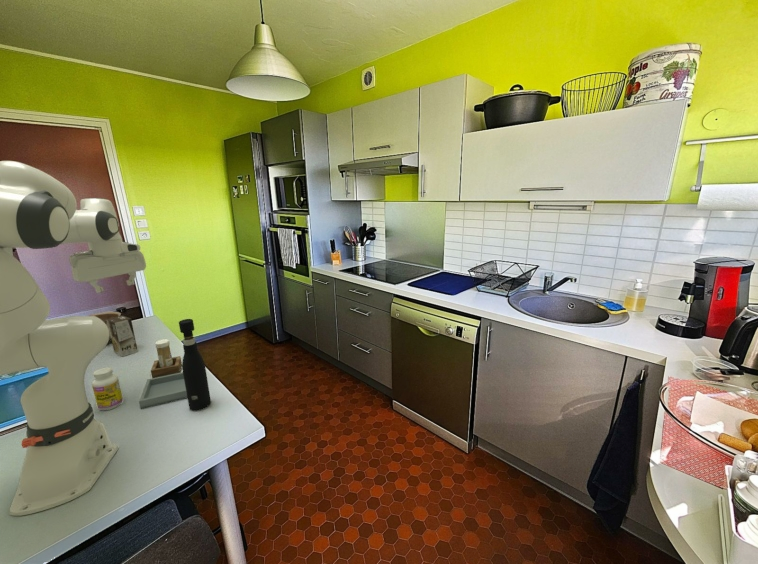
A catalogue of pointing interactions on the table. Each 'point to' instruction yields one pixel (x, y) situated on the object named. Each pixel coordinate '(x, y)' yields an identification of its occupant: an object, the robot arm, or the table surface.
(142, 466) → the table surface
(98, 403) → the supplement bottle
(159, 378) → the slate tray
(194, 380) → the black water bottle
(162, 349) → the sprinkles bottle
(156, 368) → the walnut collar
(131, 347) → the coffee box
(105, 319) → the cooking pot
